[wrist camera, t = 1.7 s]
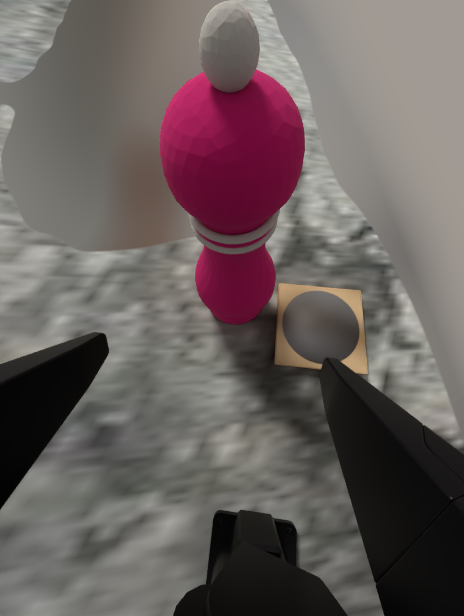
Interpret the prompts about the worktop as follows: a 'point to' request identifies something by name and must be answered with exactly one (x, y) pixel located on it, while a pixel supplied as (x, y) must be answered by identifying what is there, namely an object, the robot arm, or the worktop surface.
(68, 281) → the worktop surface
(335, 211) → the worktop surface
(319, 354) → the dock
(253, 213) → the pepper mill
